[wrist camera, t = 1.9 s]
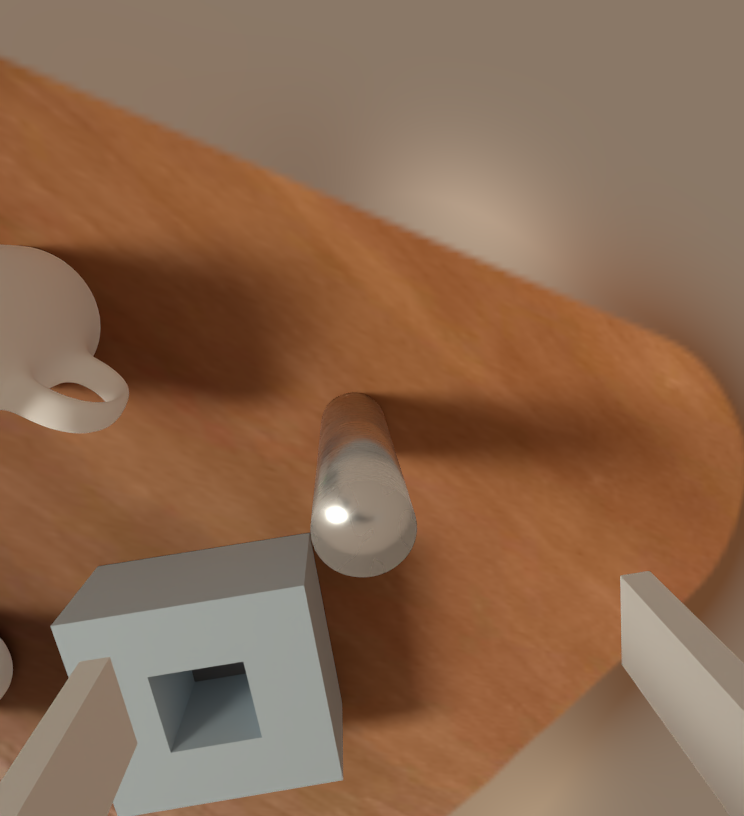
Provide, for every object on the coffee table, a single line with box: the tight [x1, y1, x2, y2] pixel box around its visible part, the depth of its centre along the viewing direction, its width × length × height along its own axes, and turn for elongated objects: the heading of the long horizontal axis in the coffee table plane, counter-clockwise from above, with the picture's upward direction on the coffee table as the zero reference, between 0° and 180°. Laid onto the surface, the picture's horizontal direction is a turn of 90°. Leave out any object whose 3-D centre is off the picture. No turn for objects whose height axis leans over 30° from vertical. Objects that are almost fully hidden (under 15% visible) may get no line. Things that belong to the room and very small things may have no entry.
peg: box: [311, 393, 417, 577], centre depth 27 cm, size 4×4×14 cm
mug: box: [0, 245, 129, 433], centre depth 26 cm, size 12×8×10 cm
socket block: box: [50, 533, 343, 816], centre depth 34 cm, size 14×14×6 cm
